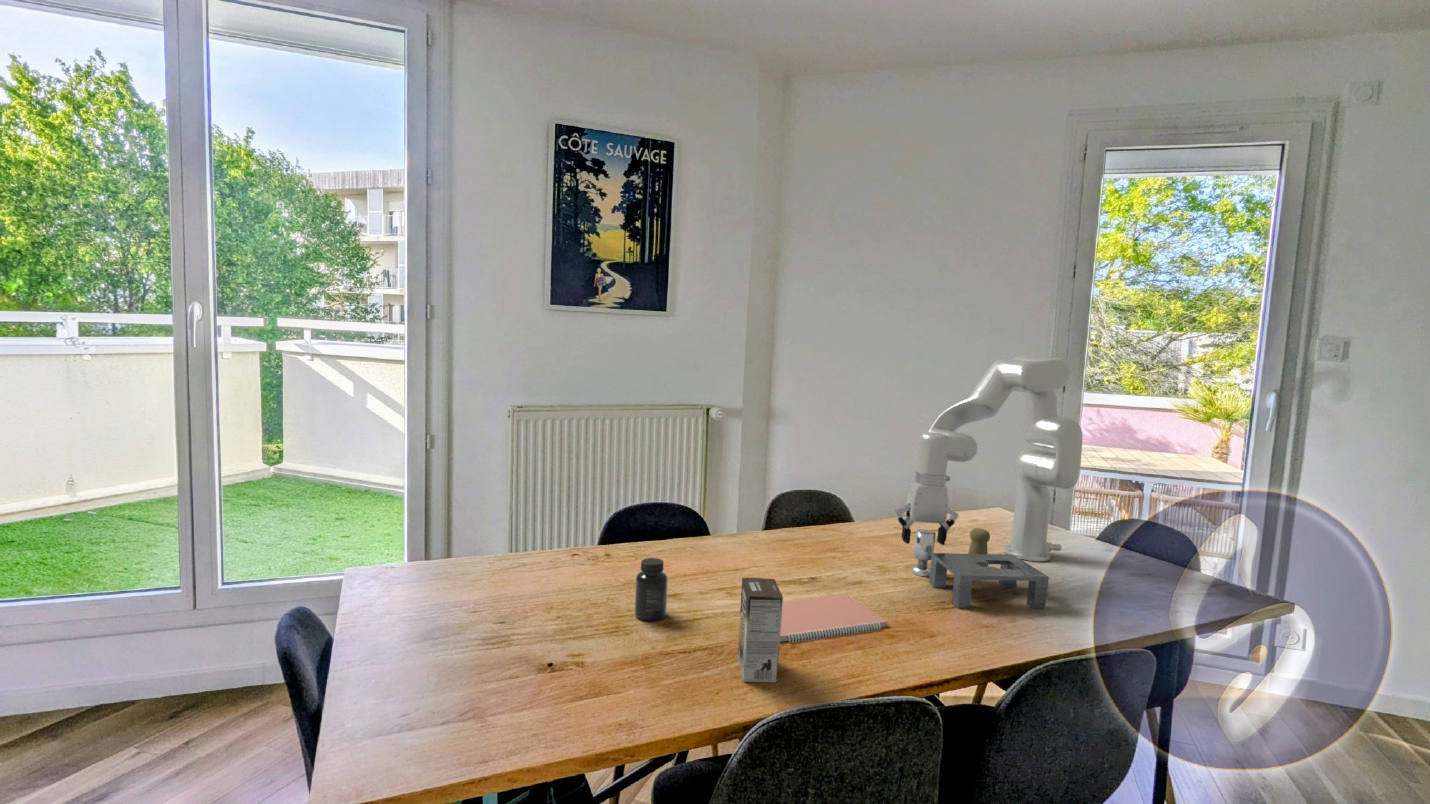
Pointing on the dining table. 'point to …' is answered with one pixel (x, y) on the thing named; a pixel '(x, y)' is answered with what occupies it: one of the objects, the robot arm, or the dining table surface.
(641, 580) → the supplement bottle
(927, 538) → the peg
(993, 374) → the robot arm
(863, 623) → the notebook
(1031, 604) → the grey windowed bracket
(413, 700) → the dining table surface
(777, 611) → the coffee box
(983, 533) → the cork
